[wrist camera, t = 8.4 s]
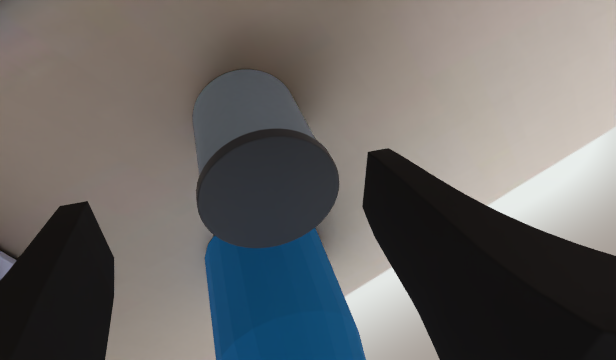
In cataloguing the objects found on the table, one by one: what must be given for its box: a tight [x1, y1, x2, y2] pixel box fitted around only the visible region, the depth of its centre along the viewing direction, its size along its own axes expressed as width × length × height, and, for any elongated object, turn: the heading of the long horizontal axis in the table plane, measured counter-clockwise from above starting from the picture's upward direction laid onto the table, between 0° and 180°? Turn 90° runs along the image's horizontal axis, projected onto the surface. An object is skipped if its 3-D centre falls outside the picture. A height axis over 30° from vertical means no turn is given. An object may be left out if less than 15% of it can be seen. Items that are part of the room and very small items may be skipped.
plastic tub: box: [193, 69, 339, 248], centre depth 18 cm, size 5×5×6 cm
